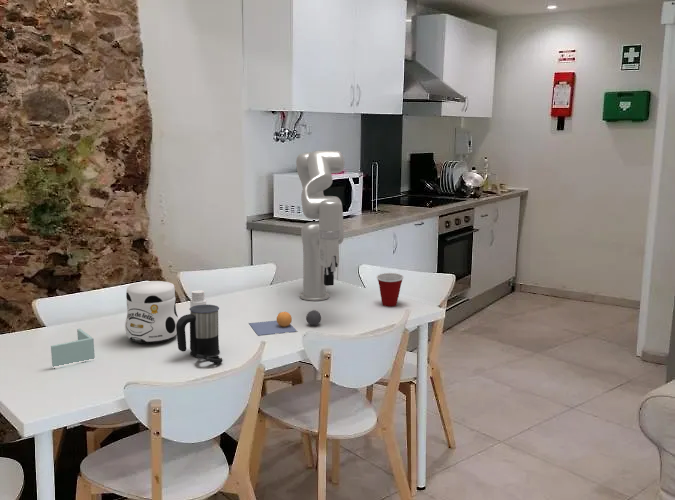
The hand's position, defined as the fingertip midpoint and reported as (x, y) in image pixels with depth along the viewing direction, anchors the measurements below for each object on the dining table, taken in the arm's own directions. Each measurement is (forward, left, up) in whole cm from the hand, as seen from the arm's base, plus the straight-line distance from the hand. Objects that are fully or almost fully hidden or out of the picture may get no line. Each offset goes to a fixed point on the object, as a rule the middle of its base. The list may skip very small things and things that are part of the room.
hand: (328, 284), depth 235 cm
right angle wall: (+10, -88, -15) cm, 90 cm away
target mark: (0, -21, -14) cm, 25 cm away
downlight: (-20, -44, -14) cm, 50 cm away
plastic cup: (-14, +31, -14) cm, 37 cm away
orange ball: (0, -17, -11) cm, 20 cm away
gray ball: (+2, -6, -11) cm, 13 cm away
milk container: (-1, -62, -14) cm, 64 cm away
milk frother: (+22, -48, -14) cm, 55 cm away
